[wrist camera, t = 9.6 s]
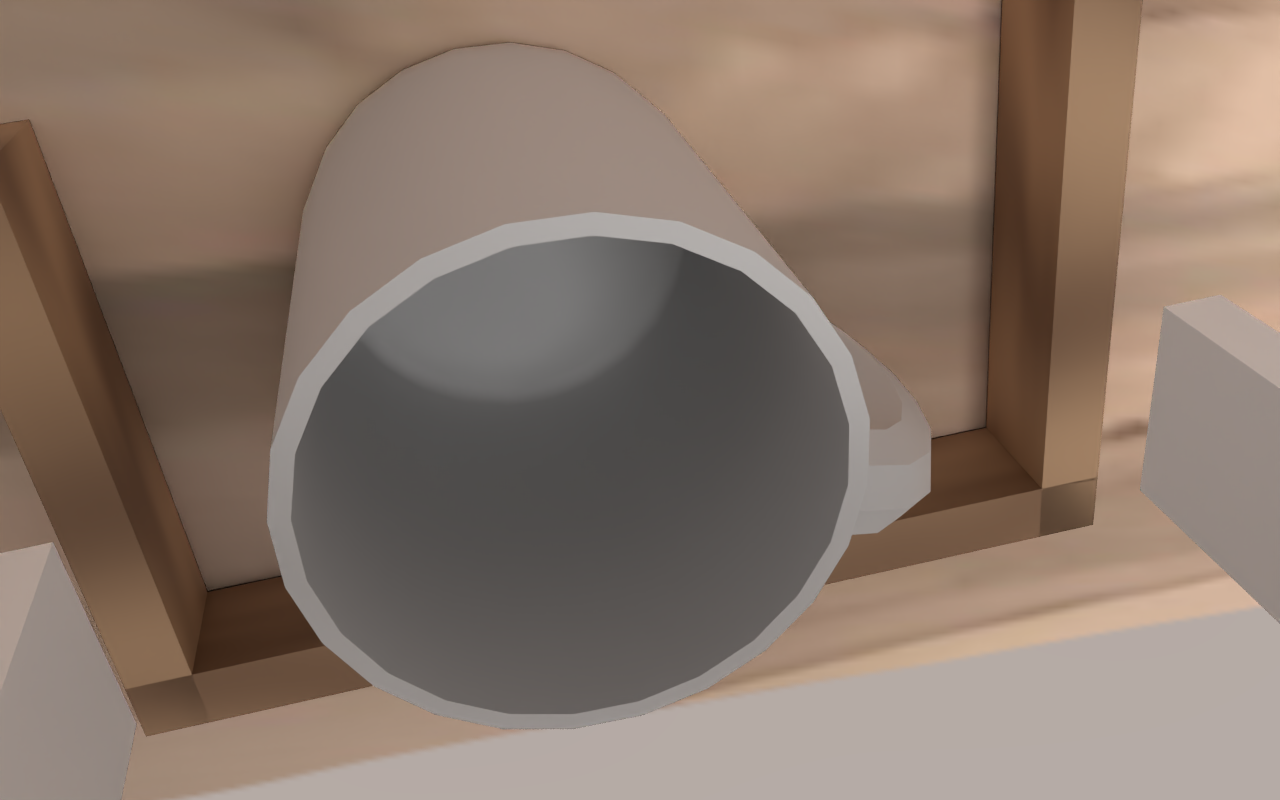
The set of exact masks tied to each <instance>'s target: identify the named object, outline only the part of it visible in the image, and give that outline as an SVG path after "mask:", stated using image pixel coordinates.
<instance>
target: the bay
mask: <svg viewBox="0 0 1280 800" xmlns="http://www.w3.org/2000/svg"><path fill="white" fill-rule="evenodd" d="M1142 1H1143V0H1002V23H1001V50H1000V76H999V103H998V130H997V157H996V184H995V210H994V237H993V264H992V291H991V318H990V345H989V371H988V398H987V425H986V428H983V429H978V430H973V431H969V432H964V433H959V434H955V435H950V436H945V437H940V438H936V439H931V492H930V493H928V494H927V495H926V496H925V497H924V498H922V499H921V500H920V501H919V502H917V503H916V504H915V505H914V506H913V507H911V508H910V509H909V510H908V511H907V512H905V513H904V514H903V515H902V516H900V517H899V518H898V519H896V520H895V521H894V522H892V523H891V524H890V525H888V526H887V527H885V528H884V529H883V530H881V531H880V532H878V533H871V534H857V535H852V536H851V539H850V542H849V546H848V547H847V549H846V550H845V552H844V554H843V555H842V557H841V558H840V560H839V562H838V563H837V565H836V566H835V568H834V570H833V571H832V573H831V574H830V576H829V578H828V579H827V581H826V582H825V584H830V583H834V582H839V581H843V580H848V579H852V578H857V577H861V576H866V575H870V574H875V573H879V572H884V571H888V570H893V569H897V568H901V567H906V566H910V565H915V564H919V563H924V562H928V561H933V560H937V559H942V558H946V557H951V556H955V555H960V554H964V553H969V552H973V551H978V550H982V549H986V548H991V547H995V546H1000V545H1004V544H1009V543H1013V542H1018V541H1022V540H1027V539H1031V538H1036V537H1040V536H1045V535H1049V534H1054V533H1058V532H1062V531H1067V530H1071V529H1076V528H1080V527H1085V526H1089V525H1093V520H1094V509H1095V498H1096V488H1097V477H1098V467H1099V456H1100V445H1101V435H1102V424H1103V414H1104V403H1105V393H1106V382H1107V371H1108V361H1109V350H1110V340H1111V329H1112V318H1113V308H1114V297H1115V287H1116V276H1117V265H1118V255H1119V244H1120V234H1121V223H1122V213H1123V202H1124V191H1125V181H1126V170H1127V160H1128V149H1129V138H1130V128H1131V117H1132V107H1133V96H1134V86H1135V75H1136V64H1137V54H1138V43H1139V33H1140V22H1141V11H1142ZM0 409H1V411H2V414H3V416H4V418H5V420H6V423H7V425H8V427H9V429H10V432H11V434H12V436H13V438H14V441H15V443H16V445H17V447H18V450H19V452H20V454H21V456H22V459H23V461H24V463H25V465H26V468H27V470H28V472H29V474H30V477H31V479H32V481H33V483H34V486H35V488H36V490H37V492H38V495H39V497H40V499H41V501H42V504H43V506H44V508H45V510H46V512H47V515H48V517H49V519H50V521H51V524H52V526H53V528H54V530H55V533H56V535H57V537H58V539H59V542H60V544H61V546H62V548H63V551H64V553H65V555H66V557H67V560H68V562H69V564H70V566H71V569H72V571H73V573H74V575H75V578H76V580H77V582H78V584H79V587H80V589H81V591H82V593H83V596H84V598H85V600H86V602H87V605H88V607H89V609H90V611H91V614H92V616H93V618H94V620H95V622H96V625H97V627H98V629H99V631H100V634H101V636H102V638H103V640H104V643H105V645H106V647H107V649H108V652H109V654H110V656H111V658H112V661H113V663H114V665H115V667H116V670H117V672H118V674H119V676H120V679H121V681H122V683H123V685H124V688H125V690H126V692H127V694H128V697H129V699H130V701H131V703H132V706H133V708H134V710H135V712H136V715H137V717H138V719H139V721H140V724H141V726H142V728H143V730H144V732H145V735H146V736H150V735H155V734H159V733H164V732H168V731H173V730H177V729H182V728H186V727H190V726H195V725H199V724H204V723H208V722H213V721H217V720H222V719H226V718H231V717H235V716H240V715H244V714H249V713H253V712H258V711H262V710H266V709H271V708H275V707H280V706H284V705H289V704H293V703H298V702H302V701H307V700H311V699H316V698H320V697H325V696H329V695H334V694H338V693H343V692H347V691H351V690H356V689H360V688H365V687H369V686H373V685H372V684H371V683H369V682H368V681H367V680H366V679H365V678H363V677H362V676H361V675H360V674H359V673H357V672H356V671H355V670H354V669H353V668H351V667H350V666H349V665H348V664H347V663H345V662H344V661H343V660H342V659H341V658H339V657H338V656H337V655H336V654H335V653H333V652H332V651H331V650H330V649H329V648H328V647H326V646H325V645H324V644H323V643H322V642H321V640H320V639H319V638H318V636H317V635H316V633H315V632H314V630H313V629H312V627H311V626H310V624H309V623H308V621H307V620H306V618H305V617H304V615H303V614H302V612H301V611H300V609H299V608H298V606H297V605H296V603H295V602H294V600H293V599H292V597H291V596H290V594H289V593H288V591H287V590H286V588H285V586H284V582H283V579H282V577H277V578H272V579H268V580H263V581H258V582H253V583H249V584H244V585H239V586H234V587H230V588H225V589H220V590H215V591H211V592H207V589H206V587H205V584H204V581H203V579H202V576H201V574H200V571H199V568H198V566H197V563H196V560H195V558H194V555H193V552H192V550H191V547H190V544H189V542H188V539H187V536H186V534H185V531H184V529H183V526H182V523H181V521H180V518H179V515H178V513H177V510H176V507H175V505H174V502H173V499H172V497H171V494H170V492H169V489H168V486H167V484H166V481H165V478H164V476H163V473H162V470H161V468H160V465H159V462H158V460H157V457H156V454H155V452H154V449H153V447H152V444H151V441H150V439H149V436H148V433H147V431H146V428H145V425H144V423H143V420H142V417H141V415H140V412H139V409H138V407H137V404H136V402H135V399H134V396H133V394H132V391H131V388H130V386H129V383H128V380H127V378H126V375H125V372H124V370H123V367H122V365H121V362H120V359H119V357H118V354H117V351H116V349H115V346H114V343H113V341H112V338H111V335H110V333H109V330H108V327H107V325H106V322H105V320H104V317H103V314H102V312H101V309H100V306H99V304H98V301H97V298H96V296H95V293H94V290H93V288H92V285H91V283H90V280H89V277H88V275H87V272H86V269H85V267H84V264H83V261H82V259H81V256H80V253H79V251H78V248H77V245H76V243H75V240H74V238H73V235H72V232H71V230H70V227H69V224H68V222H67V219H66V216H65V214H64V211H63V208H62V206H61V203H60V200H59V198H58V195H57V193H56V190H55V187H54V185H53V182H52V179H51V177H50V174H49V171H48V169H47V166H46V163H45V161H44V158H43V156H42V153H41V150H40V148H39V145H38V142H37V140H36V137H35V134H34V132H33V129H32V126H31V124H30V121H29V120H24V121H18V122H11V123H5V124H0ZM825 584H824V585H825Z"/></svg>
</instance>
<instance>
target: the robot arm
mask: <svg viewBox="0 0 1280 800" xmlns="http://www.w3.org/2000/svg"><path fill="white" fill-rule="evenodd" d="M1140 491H1142V492H1143V493H1144V494H1145V495H1146V496H1147V497H1148V498H1149V499H1150V500H1151V501H1152V502H1153V503H1154V504H1155V505H1156V506H1157V507H1158V508H1159V509H1160V510H1161V511H1162V512H1163V513H1165V514H1166V515H1167V516H1168V517H1169V518H1170V519H1171V520H1172V521H1173V522H1174V523H1175V524H1176V525H1177V526H1178V527H1179V528H1180V529H1181V530H1182V531H1183V532H1184V533H1185V534H1187V535H1188V536H1189V537H1190V538H1191V539H1192V540H1193V541H1194V542H1195V543H1196V544H1197V545H1198V546H1199V547H1200V548H1201V549H1202V550H1203V551H1204V552H1205V553H1206V554H1207V555H1209V556H1210V557H1211V558H1212V559H1213V560H1214V561H1215V562H1216V563H1217V564H1218V565H1219V566H1220V567H1221V568H1222V569H1223V570H1224V571H1225V572H1226V573H1227V574H1228V575H1229V576H1230V577H1232V578H1233V579H1234V580H1235V581H1236V582H1237V583H1238V584H1239V585H1240V586H1241V587H1242V588H1243V589H1244V590H1245V591H1246V592H1247V593H1248V594H1249V595H1250V596H1251V597H1252V598H1254V599H1255V600H1256V601H1257V602H1258V603H1259V604H1260V605H1261V606H1262V607H1263V608H1264V609H1265V610H1266V611H1267V612H1268V613H1269V614H1270V615H1271V616H1272V617H1273V618H1274V619H1276V620H1277V621H1278V622H1279V623H1280V333H1279V332H1278V331H1276V330H1274V329H1273V328H1271V327H1270V326H1268V325H1267V324H1265V323H1264V322H1262V321H1261V320H1259V319H1257V318H1256V317H1254V316H1253V315H1251V314H1250V313H1248V312H1247V311H1245V310H1244V309H1242V308H1240V307H1239V306H1237V305H1236V304H1234V303H1233V302H1231V301H1230V300H1228V299H1227V298H1225V297H1223V296H1222V295H1217V296H1212V297H1207V298H1203V299H1198V300H1193V301H1188V302H1184V303H1179V304H1174V305H1169V306H1165V307H1164V309H1163V317H1162V325H1161V332H1160V340H1159V348H1158V355H1157V363H1156V371H1155V378H1154V386H1153V394H1152V401H1151V409H1150V417H1149V424H1148V432H1147V440H1146V447H1145V455H1144V463H1143V470H1142V478H1141V486H1140ZM135 729H136V722H135V719H134V717H133V715H132V713H131V711H130V709H129V706H128V704H127V702H126V700H125V698H124V695H123V693H122V691H121V689H120V687H119V685H118V682H117V680H116V678H115V676H114V674H113V671H112V669H111V667H110V665H109V663H108V661H107V658H106V656H105V654H104V652H103V650H102V648H101V645H100V643H99V641H98V639H97V637H96V634H95V632H94V630H93V628H92V626H91V624H90V621H89V619H88V617H87V615H86V613H85V611H84V608H83V606H82V604H81V602H80V600H79V597H78V595H77V593H76V591H75V589H74V587H73V584H72V582H71V580H70V578H69V576H68V574H67V571H66V569H65V567H64V565H63V563H62V560H61V558H60V556H59V554H58V552H57V550H56V547H55V545H54V543H53V542H50V543H46V544H41V545H36V546H32V547H27V548H22V549H17V550H13V551H8V552H3V553H0V800H121V799H122V794H123V789H124V784H125V779H126V774H127V769H128V764H129V759H130V754H131V749H132V744H133V739H134V734H135Z"/></svg>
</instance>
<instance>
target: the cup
mask: <svg viewBox="0 0 1280 800" xmlns="http://www.w3.org/2000/svg"><path fill="white" fill-rule="evenodd" d="M930 492H931V427H930V426H929V424H928V422H927V420H926V418H925V416H924V414H923V412H922V410H921V408H920V406H919V404H918V402H917V401H916V400H915V399H914V397H913V396H912V395H911V394H910V393H909V391H908V390H907V389H906V388H905V387H904V385H903V384H902V383H901V382H900V381H899V379H898V378H897V377H896V376H895V375H894V374H893V373H892V372H891V371H890V370H889V369H888V368H887V367H886V366H884V365H883V364H882V363H881V362H880V361H879V360H878V359H877V358H875V357H874V356H873V355H872V354H871V353H870V352H869V351H868V350H866V349H865V348H864V347H863V346H862V345H860V344H859V343H858V342H857V341H855V340H854V339H853V338H851V337H850V336H849V335H848V334H846V333H845V332H844V331H842V330H841V329H839V328H838V327H836V326H835V325H833V324H832V323H830V322H829V321H828V319H827V318H826V316H825V315H824V313H823V312H822V310H821V309H820V307H819V306H818V304H817V303H816V301H815V300H814V298H813V297H812V296H811V294H810V293H809V292H808V291H807V289H806V288H805V287H804V286H803V285H802V283H801V282H800V281H799V280H798V278H797V277H796V276H795V275H794V273H793V272H792V271H791V270H790V269H789V267H788V266H787V265H786V264H785V262H784V261H783V260H782V259H781V257H780V256H779V255H778V254H777V252H776V251H775V250H774V249H773V248H772V246H771V245H770V244H769V243H768V241H767V240H766V239H765V238H764V236H763V235H762V234H761V233H760V232H759V230H758V229H757V228H756V227H755V225H754V224H753V223H752V222H751V220H750V219H749V218H748V217H747V216H746V214H745V213H744V212H743V211H742V209H741V208H740V207H739V206H738V204H737V203H736V202H735V201H734V199H733V198H732V197H731V196H730V195H729V193H728V192H727V191H726V190H725V188H724V187H723V186H722V185H721V183H720V182H719V181H718V180H717V179H716V177H715V176H714V175H713V174H712V172H711V171H710V170H709V169H708V167H707V166H706V165H705V164H704V162H703V161H702V160H701V159H700V158H699V156H698V155H697V154H696V153H695V151H694V150H693V149H692V148H691V146H690V145H689V144H688V143H687V142H686V140H685V139H684V138H683V137H682V135H681V134H680V133H679V132H678V130H677V129H676V128H675V127H674V125H673V124H672V123H671V122H670V121H669V119H668V118H667V117H666V116H665V114H663V113H662V112H661V111H660V110H659V109H657V108H656V107H655V106H654V105H653V104H651V103H650V102H649V101H648V100H646V99H645V98H644V97H643V96H642V95H640V94H639V93H638V92H637V91H636V90H634V89H633V88H632V87H631V86H629V85H628V84H627V83H626V82H625V81H623V80H622V79H621V78H620V77H619V76H617V75H616V74H615V73H614V72H612V71H609V70H607V69H605V68H603V67H600V66H598V65H596V64H594V63H591V62H589V61H587V60H585V59H582V58H580V57H578V56H576V55H573V54H571V53H569V52H567V51H565V50H558V49H551V48H544V47H538V46H531V45H524V44H517V43H510V42H509V43H500V44H492V45H483V46H475V47H466V48H458V49H453V50H450V51H448V52H445V53H443V54H440V55H438V56H436V57H433V58H431V59H428V60H426V61H423V62H421V63H418V64H416V65H414V66H411V67H409V68H406V69H404V70H402V71H400V72H399V73H398V74H396V75H395V76H394V77H393V78H391V79H390V80H389V81H387V82H386V83H385V84H383V85H382V86H381V87H380V88H378V89H377V90H376V91H374V92H373V93H372V94H370V95H369V96H368V97H367V98H365V99H364V100H363V101H361V102H360V103H359V104H358V105H357V106H356V108H355V109H354V110H353V112H352V113H351V114H350V116H349V117H348V118H347V120H346V121H345V123H344V124H343V125H342V127H341V128H340V129H339V131H338V132H337V133H336V135H335V136H334V138H333V139H332V140H331V142H330V143H329V144H328V146H327V147H326V149H325V152H324V155H323V157H322V160H321V163H320V166H319V168H318V171H317V174H316V176H315V179H314V182H313V185H312V187H311V190H310V193H309V195H308V198H307V201H306V204H305V207H304V209H303V215H302V222H301V230H300V237H299V244H298V252H297V259H296V266H295V273H294V281H293V288H292V295H291V303H290V310H289V317H288V325H287V332H286V339H285V346H284V354H283V361H282V368H281V376H280V383H279V390H278V398H277V405H276V412H275V419H274V427H273V434H272V441H271V449H270V467H269V487H268V507H267V524H268V528H269V531H270V535H271V539H272V542H273V546H274V550H275V553H276V557H277V560H278V564H279V568H280V571H281V575H282V579H283V582H284V586H285V588H286V590H287V591H288V593H289V594H290V596H291V597H292V599H293V600H294V602H295V603H296V605H297V606H298V608H299V609H300V611H301V612H302V614H303V615H304V617H305V618H306V620H307V621H308V623H309V624H310V626H311V627H312V629H313V630H314V632H315V633H316V635H317V636H318V638H319V639H320V640H321V642H322V643H323V644H324V645H325V646H326V647H328V648H329V649H330V650H331V651H332V652H333V653H335V654H336V655H337V656H338V657H339V658H341V659H342V660H343V661H344V662H345V663H347V664H348V665H349V666H350V667H351V668H353V669H354V670H355V671H356V672H357V673H359V674H360V675H361V676H362V677H363V678H365V679H366V680H367V681H368V682H369V683H371V684H372V685H373V686H374V687H377V688H379V689H381V690H383V691H385V692H387V693H390V694H392V695H394V696H396V697H398V698H400V699H403V700H405V701H407V702H409V703H411V704H413V705H416V706H418V707H420V708H422V709H424V710H426V711H428V712H431V713H433V714H435V715H439V716H443V717H448V718H453V719H458V720H462V721H467V722H472V723H477V724H481V725H486V726H491V727H496V728H500V729H576V728H581V727H586V726H591V725H596V724H601V723H606V722H611V721H616V720H621V719H626V718H631V717H636V716H641V715H645V714H647V713H649V712H652V711H654V710H657V709H659V708H662V707H664V706H666V705H669V704H671V703H674V702H676V701H678V700H681V699H683V698H686V697H688V696H691V695H693V694H695V693H698V692H700V691H703V690H705V689H708V688H709V687H711V686H712V685H714V684H715V683H717V682H718V681H720V680H721V679H723V678H724V677H726V676H727V675H729V674H730V673H732V672H733V671H735V670H736V669H738V668H740V667H741V666H743V665H744V664H746V663H747V662H749V661H750V660H752V659H753V658H755V657H756V656H758V655H759V654H761V653H762V652H764V651H765V650H766V649H767V648H768V647H769V646H770V645H771V644H772V643H773V642H774V641H775V640H776V639H777V638H778V637H779V636H780V635H781V634H782V633H783V632H784V631H785V630H786V629H787V628H788V627H789V626H790V625H791V624H792V623H793V622H794V621H795V620H796V619H797V618H798V617H799V616H800V615H801V614H802V613H803V612H804V611H805V610H806V609H807V608H808V607H809V606H810V605H811V604H812V603H813V602H814V600H815V598H816V597H817V595H818V594H819V592H820V590H821V589H822V587H823V586H824V584H825V582H826V581H827V579H828V578H829V576H830V574H831V573H832V571H833V570H834V568H835V566H836V565H837V563H838V562H839V560H840V558H841V557H842V555H843V554H844V552H845V550H846V549H847V547H848V546H849V542H850V539H851V536H852V535H857V534H871V533H878V532H880V531H881V530H883V529H884V528H885V527H887V526H888V525H890V524H891V523H892V522H894V521H895V520H896V519H898V518H899V517H900V516H902V515H903V514H904V513H905V512H907V511H908V510H909V509H910V508H911V507H913V506H914V505H915V504H916V503H917V502H919V501H920V500H921V499H922V498H924V497H925V496H926V495H927V494H928V493H930Z"/></svg>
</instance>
